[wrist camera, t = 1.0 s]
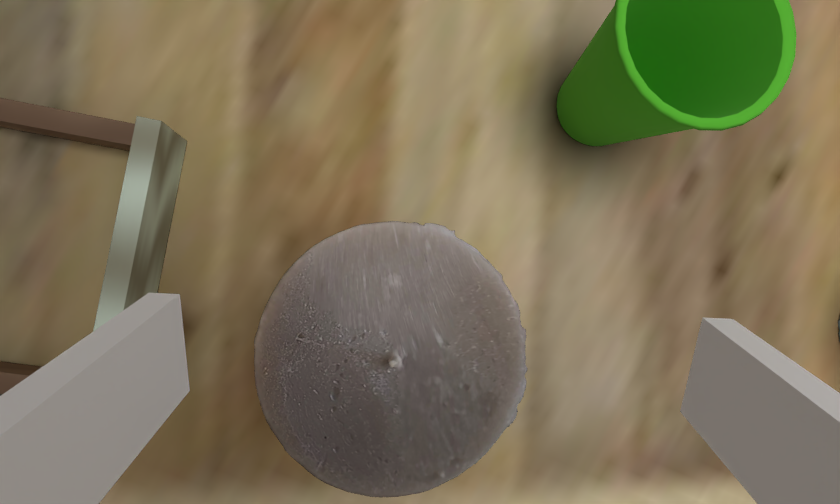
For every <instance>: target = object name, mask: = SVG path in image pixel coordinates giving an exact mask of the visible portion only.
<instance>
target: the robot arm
mask: <svg viewBox="0 0 840 504" xmlns="http://www.w3.org/2000/svg"><path fill="white" fill-rule="evenodd" d="M189 391H190V388H189V378H188V368H187V359H186V349H185V339H184V330H183V320H182V310H181V301H180V294H167V293H148V294H146V295H145V296H143V297H142V298H141V299H139V300H138V301H136V302H135V303H133V304H132V305H131V306H129V307H128V308H126V309H125V310H123V311H122V312H120V313H119V314H118V315H116V316H115V317H113V318H112V319H110V320H109V321H108V322H106V323H105V324H103V325H102V326H100V327H99V328H97V329H96V330H95V331H93V332H92V333H90V334H89V335H87V336H86V337H84V338H83V339H82V340H80V341H79V342H77V343H76V344H74V345H73V346H72V347H70V348H69V349H67V350H66V351H64V352H63V353H61V354H60V355H59V356H57V357H56V358H54V359H53V360H51V361H50V362H49V363H47V364H46V365H44V366H43V367H41V368H40V369H38V370H37V371H36V372H34V373H33V374H31V375H30V376H28V377H27V378H26V379H24V380H23V381H21V382H20V383H18V384H17V385H15V386H14V387H13V388H11V389H10V390H8V391H7V392H5V393H4V394H0V504H99V503H100V501H101V500H102V499H103V498H104V496H105V495H106V494H107V493H108V491H109V490H110V489H111V488H112V486H113V485H114V484H115V483H116V482H117V480H118V479H119V478H120V477H121V475H122V474H123V473H124V472H125V470H126V469H127V468H128V467H129V465H130V464H131V463H132V462H133V460H134V459H135V458H136V457H137V455H138V454H139V453H140V452H141V451H142V449H143V448H144V447H145V446H146V444H147V443H148V442H149V441H150V439H151V438H152V437H153V436H154V434H155V433H156V432H157V431H158V429H159V428H160V427H161V426H162V424H163V423H164V422H165V421H166V420H167V418H168V417H169V416H170V415H171V413H172V412H173V411H174V410H175V408H176V407H177V406H178V405H179V403H180V402H181V401H182V400H183V398H184V397H185V396H186V395H187V393H188V392H189ZM680 412H681V413H682V414H683V415H684V417H685V418H686V419H687V420H688V421H689V423H690V424H691V425H692V426H693V427H694V429H695V430H696V431H697V432H698V433H699V435H700V436H701V437H702V438H703V439H704V440H705V442H706V443H707V444H708V445H709V446H710V448H711V449H712V450H713V451H714V452H715V454H716V455H717V456H718V457H719V458H720V460H721V461H722V462H723V463H724V464H725V466H726V467H727V468H728V469H729V470H730V471H731V473H732V474H733V475H734V476H735V477H736V479H737V480H738V481H739V482H740V483H741V485H742V486H743V487H744V488H745V489H746V491H747V492H748V493H749V494H750V495H751V496H752V498H753V499H754V500H755V501H756V502H757V504H840V393H839V392H837V391H836V390H834V389H833V388H831V387H830V386H829V385H827V384H826V383H824V382H823V381H821V380H820V379H818V378H817V377H816V376H814V375H813V374H811V373H810V372H808V371H807V370H805V369H804V368H803V367H801V366H800V365H798V364H797V363H795V362H794V361H792V360H791V359H790V358H788V357H787V356H785V355H784V354H782V353H781V352H779V351H778V350H777V349H775V348H774V347H772V346H771V345H769V344H768V343H767V342H765V341H764V340H762V339H761V338H759V337H758V336H756V335H755V334H754V333H752V332H751V331H749V330H748V329H746V328H745V327H743V326H742V325H741V324H739V323H738V322H736V321H735V320H733V319H722V318H702V322H701V326H700V330H699V334H698V339H697V343H696V347H695V351H694V356H693V360H692V364H691V368H690V373H689V377H688V381H687V385H686V390H685V394H684V398H683V402H682V406H681V411H680Z"/></svg>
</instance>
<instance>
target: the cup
mask: <svg viewBox="0 0 840 504" xmlns="http://www.w3.org/2000/svg"><path fill="white" fill-rule="evenodd" d="M795 48H796V29H795V23H794V16H793V11H792V8H791V6H790V3H789V0H616V2H615V6H614V7H613V9H612V10H611V12H610V13H609V15H608V16H607V18H606V19H605V21H604V22H603V24H602V25H601V27H600V28H599V30H598V31H597V33H596V34H595V36H594V37H593V39H592V40H591V42H590V43H589V45H588V47H587V48H586V50H585V51H584V53H583V54H582V56H581V57H580V59H579V60H578V62H577V63H576V65H575V66H574V68H573V69H572V71H571V72H570V74H569V75H568V77H567V78H566V80H565V81H564V83H563V84H562V86H561V87H560V90H559V93H558V96H557V114H558V118H559V121H560V123H561V126H562V127H563V129H564V130H565V131H566V133H567V134H568V135H569V136H571V137H572V138H573V139H575V140H576V141H578V142H580V143H582V144H586V145H589V146H604V145H609V144H614V143H619V142H625V141H630V140H635V139H641V138H646V137H651V136H656V135H662V134H667V133H672V132H678V131H683V130H688V129H693V128H694V129H697V130H725V129H729V128H733V127H737V126H741V125H743V124H745V123H747V122H748V121H750V120H752V119H754V118H755V117H757V116H759V115H760V114H761V113H762V112H763V111H764V110H765V109H766V108H767V107H768V106H769V105H770V104H771V103H772V102H773V101H774V100H775V99H776V98H777V97H778V95H779V94H780V92H781V90H782V88H783V87H784V85H785V83H786V81H787V80H788V78H789V75H790V72H791V68H792V65H793V62H794V58H795Z"/></svg>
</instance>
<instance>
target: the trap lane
mask: <svg viewBox="0 0 840 504" xmlns="http://www.w3.org/2000/svg"><path fill="white" fill-rule="evenodd" d="M0 127H4V128H10V129H15V130H21V131H26V132H31V133H37V134H42V135H47V136H53V137H58V138H64V139H69V140H74V141H80V142H85V143H90V144H96V145H101V146H106V147H112V148H117V149H123V150H128V151H130V152H129V157H128V162H127V167H126V172H125V177H124V182H123V187H122V192H121V197H120V202H119V206H118V211H117V216H116V221H115V226H114V231H113V236H112V241H111V246H110V251H109V256H108V261H107V266H106V270H105V275H104V280H103V285H102V290H101V295H100V300H99V305H98V310H97V315H96V320H95V325H94V330H93V331H95V330H96V329H97V328H99V327H100V326H102V325H103V324H105V323H106V322H108V321H109V320H110V319H112V318H113V317H115V316H116V315H118V314H119V313H120V312H122V311H123V310H125V309H126V308H128V307H129V306H131V305H132V304H133V303H135V302H136V301H138V300H139V299H141V298H142V297H143V296H145V295H146V294H148V293H157V292H158V287H159V282H160V277H161V272H162V267H163V261H164V256H165V251H166V246H167V241H168V236H169V231H170V226H171V221H172V216H173V211H174V205H175V200H176V195H177V190H178V185H179V180H180V175H181V170H182V165H183V160H184V154H185V149H186V144H187V141H186V140H185V139H184V138H182V137H181V136H180V135H179V134H177V133H176V132H175V131H174V130H172V129H171V128H170V127H168V126H167V125H166V124H165V123H163V122H162V121H159V120H154V119H149V118H144V117H139V116H137V118H136V123H135V124H132V123H127V122H122V121H117V120H112V119H106V118H101V117H96V116H91V115H86V114H81V113H75V112H70V111H65V110H60V109H55V108H49V107H44V106H39V105H34V104H29V103H24V102H18V101H13V100H8V99H3V98H0ZM40 368H41V367H39V366H31V365H24V364H16V363H8V362H0V394H4V393H5V392H7V391H8V390H10V389H11V388H13V387H14V386H15V385H17V384H18V383H20V382H21V381H23V380H24V379H26V378H27V377H28V376H30V375H31V374H33V373H34V372H36V371H37V370H38V369H40Z"/></svg>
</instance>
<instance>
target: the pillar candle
mask: <svg viewBox="0 0 840 504" xmlns="http://www.w3.org/2000/svg"><path fill="white" fill-rule="evenodd" d="M454 232H455V231H450V230H448V229H447V228H446V227H445V226H442V225H438V224H433V223H425V225H420V224H418V223H415V222H414V223H406V222H399V221H390V222H379V223H371V224H362V225H358V226H355V227H352V228H349V229H347V230H344V231H341V232H339V233H337V234H335V235H332V236H330V237H328V238H326V239H324V240H322V241H321V242H319V243H318V244H316V245H314V246H313V247H312V248H310V249H309V250H307V251H306V252H305V253H304V254H303V255H302V256H301V257H300V258H299V259H298V260H297V261H296V262H295V263H294V264H293V265H292V266H291V267H290V268H289V269H288V271H287V272H286V273H285V274H284V276H283V277H282V279H281V280H280V281H279V283H278V284H277V286H276V288H275V289H274V291H273V293H272V295H271V297H270V298H269V300H268V302H267V304H266V306H265V309H264V311H263V314H262V317H261V319H260V323H259V326H258V330H257V333H256V336H255V340H254V345H255V355H254V366H255V383H256V389H257V394H258V397H259V400H260V405H261V407H262V411H263V414H264V416H265V418H266V421H267V423H268V424H269V426H270V428H271V430H272V431H273V433H274V434H275V435H276V437H277V438H278V440H279V441H280V443H281V444H282V445H283V447H284V449H285V451H286V452H287V453H288V454H289V455H290V456H291V457H292V458H293V459H294V460H296V461H297V462H298V463H299V464H301V465H302V466H303V467H304V468H305V469H306V470H307V471H308V472H310V473H311V474H312V475H313V476H315V477H316V478H318V479H319V480H321V481H323V482H325V483H327V484H329V485H331V486H334V487H336V488H339V489H342V490H344V491H347V492H350V493H354V494H361V495H365V496H370V497H398V496H404V495H410V494H416V493H421V492H424V491H428V490H430V489H432V488H434V487H437V486H439V485H441V484H443V483H445V482H447V481H449V480H451V479H453V478H455V477H457V476H458V475H460V474H461V473H463V472H464V471H465V470H467V469H468V468H470V467H471V466H472V465H473V464H476V463H477V462H478V460H480V459H481V458H482V457H483V456H484V455H485V454H486V453H487V452H488V451H489V449H490V448H491V447H492V445H493V444H494V443H495V442H496V441H497V440H498V438H499V437H500V435H501V434H502V433H503V431H504V430H505V429H506V428H507V427H509V426H510V424H511V423H513V421H514V419H515V418H516V414H517V412H518V411H517V405H518V404H519V403H520V401H521V399H522V397H524V396H523V395H524V391H525V388H526V379H525V376H524V375H525V373H526V371H527V367H526V365H525V360H526V356H525V340H526V329H524V328H523V327H522V326H521V321H520V310H519V307H518V304H517V303H516V301H515V300H514V299H513V297H512V295H511V293H510V291H509V289H508V287H507V286H506V284H505V283H504V281H503V280H502V275H501V274H500V273H499V272H498V271H497V270H496V269H495V268H494V267H493V266H492V265H491V264H490V262H489V261H488V260H486V259H485V258H484V257H483V256H482V255H481V253H480V252H479V251H478V250H477V249H476V248H474V247H472V246H471V245H469V244H468V243H466V242H464V241H463V240H461V239H459V238H457V237H456V236H455V234H454Z"/></svg>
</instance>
